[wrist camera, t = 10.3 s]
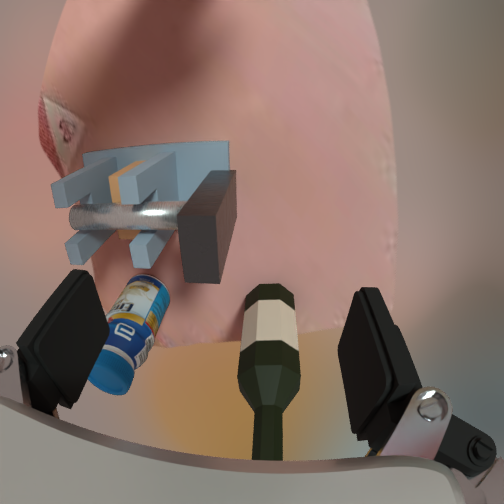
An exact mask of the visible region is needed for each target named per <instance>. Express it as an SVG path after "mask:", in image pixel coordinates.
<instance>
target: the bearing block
mask: <svg viewBox="0 0 504 504" xmlns="http://www.w3.org/2000/svg"><path fill="white" fill-rule="evenodd" d="M82 155H83V163H84V168H81V169H79V170H77V171H75V172H73V173H71V174H70V175H68V176H66V177H64V178H62V179H60V180H58V181H56V182H54V183H52V184H51V188H52V193H53V198H54V203H55V208H67V207H70V206H71V205H73V204H74V203H76V202H77V201H78V200H80V204H97V203H112V197H111V191H110V185H109V178H108V177H109V176H110V175H112V174H114V173H115V172H117V171H119V170H121V169H122V168H124V167H126V166H128V165H130V164H131V163H133V162H135V161H144V160H146V161H144V162H143V163H141V164H139V165H137V166H136V167H134V168H132V169H131V170H129V171H127V172H126V173H124V174H122V175H121V176H119V177H118V183H119V190H120V197H121V203H122V205H128V204H140V203H141V202H144V201H188V199H189V198H190V197H191V195H192V194H193V193H194V192H195V190H196V189H197V188H198V186H199V185H200V184H201V182H202V181H203V180H204V178H205V177H206V176H207V175H208V173H209V172H210V171H211V170H230V163H229V141H198V142H179V143H164V144H152V145H141V146H131V147H123V148H114V149H107V150H99V151H92V152H86V153H84V154H82ZM115 231H116V230H79V231H78V232H77V233H76V234H75V235H74V236H73V237H71V238H70V239H69V240H68V241H67V242H66V243H65V247H66V250H67V254H68V257H69V260H70V264H74V265H84V264H85V262H86V261H87V260H88V259H89V258H90V257H91V256H92V255H93V254H94V253H95V252H96V251H97V250H98V249H99V247H100V246H101V245H102V244H103V243H104V242H105V241H106V240H107V239H108V238H109V237H110V236H111V235H112V234H113V233H114V232H115ZM174 231H175V230H141V231H140V232H139V233H138V235H137V236H136V237H135V238H134V239H133V241H132V242H131V243H130V244H129V247H130V252H131V257H132V261H133V266H134V268H149V269H151V267H152V266H153V264H154V262H155V261H156V259H157V257H158V256H159V254H160V253H161V251H162V250H163V248H164V246H165V245H166V243H167V242H168V240H169V239H170V237H171V235H172V234H173V232H174Z"/></svg>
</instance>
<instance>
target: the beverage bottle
mask: <svg viewBox="0 0 504 504" xmlns="http://www.w3.org/2000/svg"><path fill="white" fill-rule="evenodd" d="M169 303H170V294H169V291H168V289H167V287H166V286H165V285H164V284H163V283H162V282H161V281H160V280H159V279H157V278H155V277H153V276H151V275H146V274H140V275H136V276H134V277H132V278H131V279H130V280H129V282H128V283H127V285H126V287H125V288H124V290H123V291H122V293H121V294H120V296H119V298H118V299H117V301H116V302H115V304H114V305H113V307H112V308H111V310H110V312H109V313H108V314H107V315H106V319H107V322H108V325H109V328H110V333H109V337H108V339H107V341H106V342H105V344H104V346H103V348H102V350H101V352H100V354H99V356H98V358H97V360H96V363H95V365H94V367H93V369H92V371H91V373H90V375H89V377H88V380H89V381H90V382H91V383H92V384H93V385H94V386H96V387H97V388H99V389H100V390H102V391H104V392H107V393H109V394H113V395H124V394H126V393H127V392H128V390H129V388H130V386H131V383H132V381H133V378H134V370H135V369H137V368H138V367H140V366H141V365H142V364H143V363H144V362H145V361H146V359H147V357H148V352H149V351H150V349H151V348H152V346H153V344H154V341H155V336H156V334H157V331H158V329H159V326H160V324H161V321H162V319H163V316H164V314H165V312H166V309H167V308H168V305H169Z"/></svg>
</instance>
